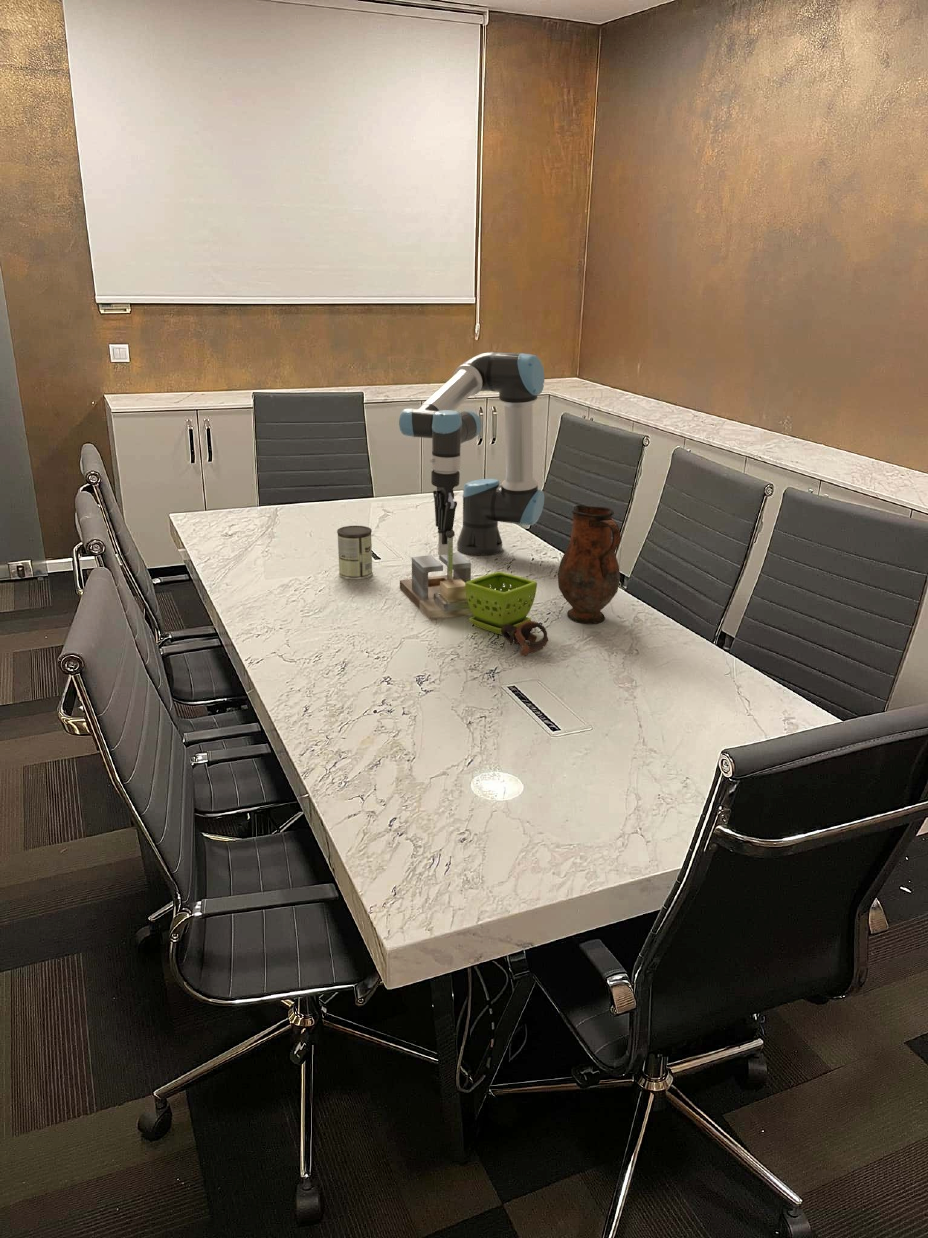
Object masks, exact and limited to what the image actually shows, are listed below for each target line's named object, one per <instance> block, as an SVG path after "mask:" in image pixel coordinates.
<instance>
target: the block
mask: <svg viewBox="0 0 928 1238" xmlns="http://www.w3.org/2000/svg"><path fill="white" fill-rule="evenodd" d="M440 596H441V597H442V598H443V599H444V600H445V601H446V602H447V603H448V602H457V601H466V600H467V596H466V588H465V582H464V581H462V580H461V579H457V580H447V581H440Z"/></svg>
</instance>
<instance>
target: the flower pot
mask: <svg viewBox="0 0 928 1238" xmlns="http://www.w3.org/2000/svg"><path fill="white" fill-rule="evenodd" d="M537 586H538V582H537V581H535V580H532V579H529V578H526V577H522V576H517V575H516V574H515V575H514V574H511V573H507V572H503V571H496V572H493V573H488V574H486V575H482V576H479V577H476V578H472V579H471V580H470V581H467V582H466V583H465V588H466V596H467V600H468V604H469V607H470V609H471V611H472V613H473V616H472V617H470V618H468V619H469V622H470V623H472V625H474V626H475V627H478V628H481V629H483V630H485V631H488V632H492V633H495V634H497V635H501V636H503V635H502V633H501V628H502V627H503V626H504V625H506V624H510V625H513V626H516V627H517V626H519V625H521V624H522V623H523V622H526V621H532V618H530V617H528V615H529V613H530V611H531V610H532V607H533V604H534V601H535V598H536V594H537V588H538V587H537ZM508 633H509V632H508ZM509 634H510V633H509Z"/></svg>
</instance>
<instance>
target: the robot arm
mask: <svg viewBox="0 0 928 1238" xmlns="http://www.w3.org/2000/svg"><path fill="white" fill-rule="evenodd" d="M544 384H545V371H544V366H543V362H542V361H541V359H540V358H539V357H538V355H534V354H530V353H525V352H502V351H501V352H498V351H488V352H487V351H486V352H482V353H480V354H477V355H475V356H473V357H470V358H469V359H467V360H466V361H464V362H462V363H461V364H460V365H459V366H458V367H457V368H455V370H454V372H453V375H452V377H450V379H448V380H447V381H446V382H445V383H444V384H443V385H442V386H440V387H439V389H437V390H436V391H435V392H434V393H433V394H432V395H431V396H430V397H428V398H427V399H426V400H425V401H424V402H423V403H422V404H420V405H419V406H418V407H417V408H413V407H412V408H404V409H403V410H402V411H401V412H400V415H399V419H398V425H399V431H400V432H401V434H402V435H403V436H406V437H411V438H412V437H413V438H423V439H431V446H432V448H431V458H430V460H429V462H430V463H431V468H432V471H431V479H430V480H431V481H430V482H431V485H432V486H433V487H436V490H433V491H432V494H433V500H434V502H433V503H434V513H435V514H434V515H435V516H434V517H435V527H437V534H438V544H437V545H438V546H437V547H438V549H437V550H438V552H437V553H438V554H437V555H447V536H446V531H447V530H449V529H452V530H453V531H454V522H455V517H456V516H455V515H456V509H457V506H458V501H456V500H455V501H454V499H455V493H454V488H456V487H458V486H459V485H460V476H461V475H460V469H461V447H462V445H461V444H463V443H465V442H469V441H471V440H473V439H475V438H476V437H478V435H479V434H480V433H481V430H482V421H481V417H480V416H479V415H478V414H477V413H476V412H474V411H471V410H470V411H469V410H467V411H462V412H459V411H457V410H456V409H458V408H459V407H460V406H461V405H462V404H463V403H464V402H465V401H466V400H467V399H469V398H470V397H471V396H475V395H478V393H479V392H493V393H498V394H499V395H498V397H499V401H500V402H501V403H502V404H503V406H504V446H505V447H504V448H505V449H504V450H505V451H504V452H505V456H504V457H505V479H504V480H502V482H501V485H500V481H499V479H496V478H483V479H475V480H471V481H468V482H466V483H465V484H464V485H463V491H462V493H463V494H462V527H461V530H460V533H459V536H458V539H457V542H456V544H457V545H456V549H457V550H458V552H459V553H461V554H462V553H463V554H466V555H470V556H472V555H473V556H492V555H495V554H498V553H501V552H502V551H503V541H502V537H501V534H500V530H499V522H500V523H506V524H507V523H508V524H513V525H519V526H533V525H535V524H536V523H537V522H538V520H539V519H540V517H541V515H542V512H543V510H544V504H545V493H544V491H543V490H541V489H538V488H539V485H538V484H539V482H538V481H537V479H535V478H534V465H533V464H534V463H533V462H534V461H533V459H534V456H533V455H534V453H533V452H534V450H533V449H534V447H533V446H534V443H533V441H534V439H533V435H534V434H533V417H534V416H533V404H534V403H535V402H536V401H537V400H538V395H541V394H542V392H543V390H544Z"/></svg>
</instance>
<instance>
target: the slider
mask: <svg viewBox="0 0 928 1238" xmlns="http://www.w3.org/2000/svg"><path fill="white" fill-rule="evenodd" d="M446 536H447V566H446V575H447V580H452V577H453V553H454V550H453V549H454V537H455V531H454V529H453V530H452V529H449V530H447V531H446ZM434 601H435V602H436V603H437V604H438V605H439V606H440V607H441V608H442V609H443V610H444V611H452V610H460V609H468V608H470V607H469V604H468V600H466V601H457V602H448V603H447V602H446V601H445V600H444V599H443V598H442V597H441V596H440V593H434Z"/></svg>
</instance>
